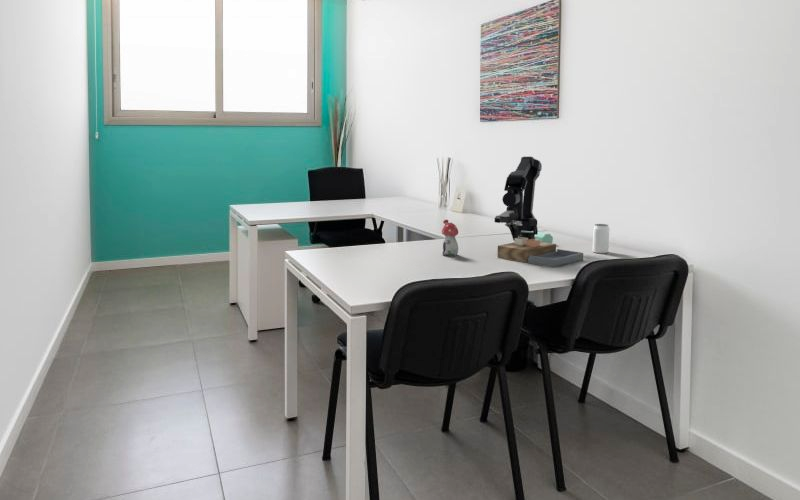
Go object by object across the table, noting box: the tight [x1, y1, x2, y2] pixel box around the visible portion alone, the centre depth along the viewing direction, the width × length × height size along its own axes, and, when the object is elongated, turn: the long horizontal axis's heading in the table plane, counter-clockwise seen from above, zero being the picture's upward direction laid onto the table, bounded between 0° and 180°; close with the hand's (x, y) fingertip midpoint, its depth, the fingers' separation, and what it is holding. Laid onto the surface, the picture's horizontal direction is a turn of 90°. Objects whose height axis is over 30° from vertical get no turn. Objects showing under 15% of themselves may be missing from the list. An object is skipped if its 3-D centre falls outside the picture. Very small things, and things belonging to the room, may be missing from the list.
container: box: [528, 231, 554, 244], centre depth 294 cm, size 6×6×25 cm
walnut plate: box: [497, 241, 557, 263], centre depth 255 cm, size 15×20×5 cm
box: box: [527, 248, 584, 268], centre depth 245 cm, size 13×20×3 cm, turn 132°
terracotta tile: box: [526, 239, 540, 247], centre depth 253 cm, size 4×4×2 cm
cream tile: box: [513, 237, 528, 245], centre depth 257 cm, size 4×4×2 cm
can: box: [592, 223, 610, 255], centre depth 262 cm, size 6×6×12 cm
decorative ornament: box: [441, 219, 459, 257], centre depth 260 cm, size 9×6×15 cm
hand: (515, 240), depth 259 cm, fingers closed
